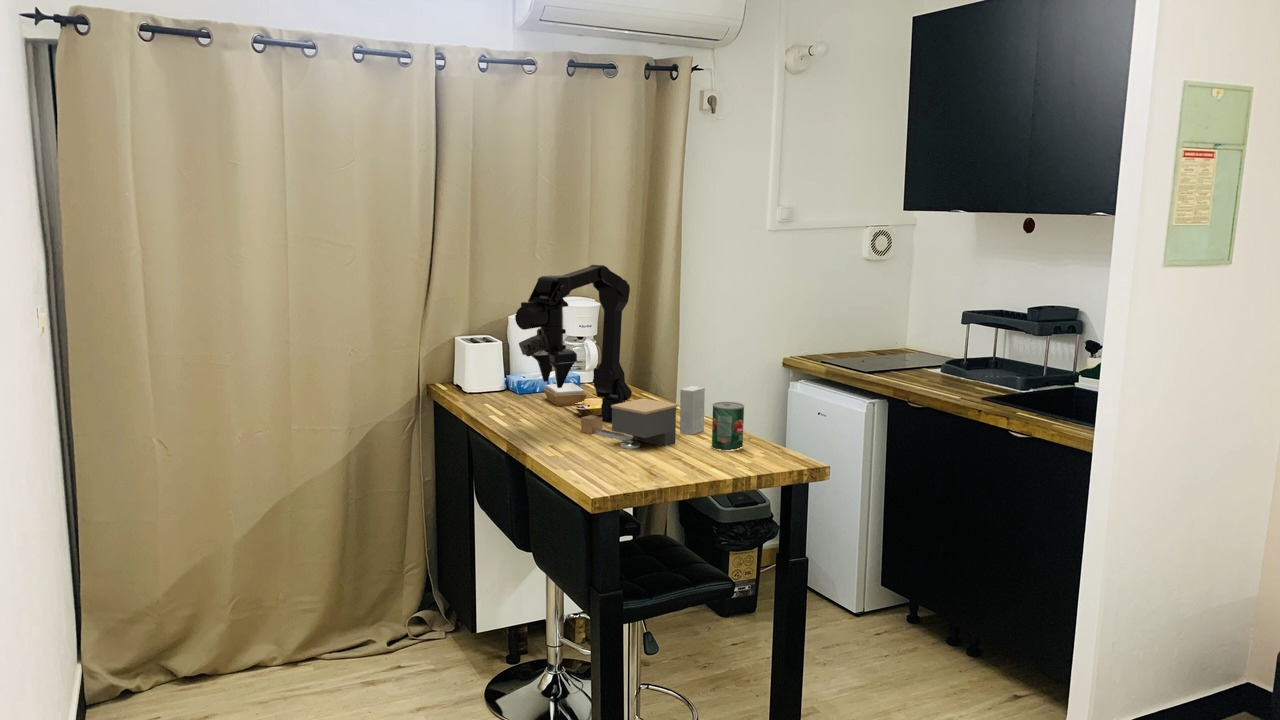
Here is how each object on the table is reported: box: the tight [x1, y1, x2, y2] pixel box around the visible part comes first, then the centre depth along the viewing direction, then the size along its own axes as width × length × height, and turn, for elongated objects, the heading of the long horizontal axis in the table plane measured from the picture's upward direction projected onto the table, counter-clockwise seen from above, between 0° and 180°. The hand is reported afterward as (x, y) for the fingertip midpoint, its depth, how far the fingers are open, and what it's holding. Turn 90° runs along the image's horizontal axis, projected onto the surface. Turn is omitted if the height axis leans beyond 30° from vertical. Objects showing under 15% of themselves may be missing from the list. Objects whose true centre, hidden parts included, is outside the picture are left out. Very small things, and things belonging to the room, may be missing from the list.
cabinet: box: [611, 398, 678, 447], centre depth 249 cm, size 12×11×10 cm
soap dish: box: [543, 382, 588, 407], centre depth 299 cm, size 12×10×5 cm
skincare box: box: [679, 385, 706, 436], centre depth 263 cm, size 6×4×12 cm
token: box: [620, 440, 641, 450], centre depth 247 cm, size 5×5×1 cm
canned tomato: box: [711, 401, 745, 450], centre depth 247 cm, size 8×8×11 cm
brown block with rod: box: [580, 414, 637, 442], centre depth 258 cm, size 4×17×4 cm, turn 48°
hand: (552, 384), depth 256 cm, fingers open, 9 cm apart
